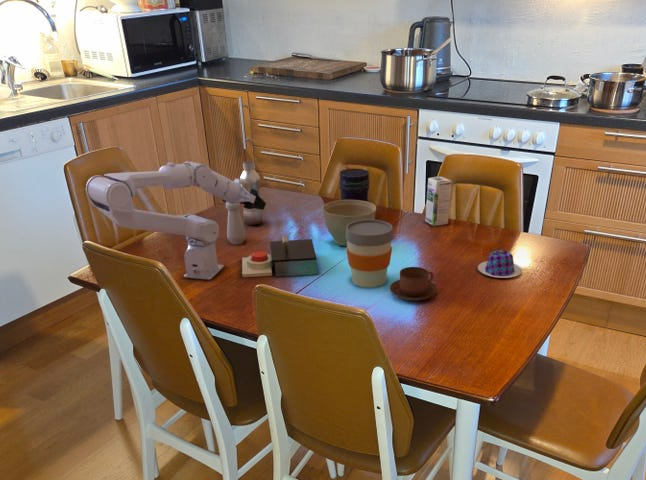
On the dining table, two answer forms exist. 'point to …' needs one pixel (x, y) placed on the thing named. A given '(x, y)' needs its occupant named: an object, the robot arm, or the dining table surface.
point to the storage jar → (354, 184)
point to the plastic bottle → (249, 182)
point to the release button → (259, 256)
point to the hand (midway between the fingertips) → (255, 203)
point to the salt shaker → (235, 224)
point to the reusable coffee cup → (369, 251)
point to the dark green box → (295, 268)
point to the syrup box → (438, 201)
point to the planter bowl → (346, 216)
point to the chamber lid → (292, 250)
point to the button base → (256, 267)
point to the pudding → (500, 265)
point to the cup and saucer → (414, 284)
